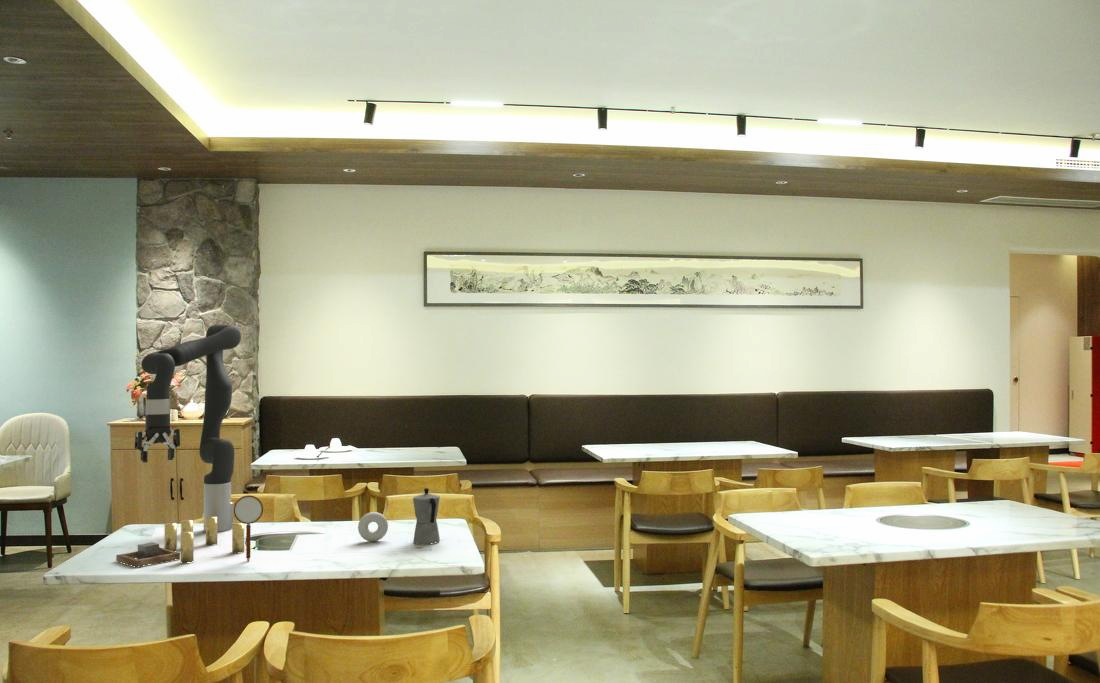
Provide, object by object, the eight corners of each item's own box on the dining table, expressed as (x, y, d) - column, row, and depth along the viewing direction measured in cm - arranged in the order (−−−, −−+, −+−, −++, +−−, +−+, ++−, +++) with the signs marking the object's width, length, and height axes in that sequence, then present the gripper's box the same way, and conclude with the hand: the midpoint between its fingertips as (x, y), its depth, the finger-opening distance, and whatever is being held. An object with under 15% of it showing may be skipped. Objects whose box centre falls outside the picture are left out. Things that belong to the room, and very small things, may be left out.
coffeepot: (407, 539, 279) (407, 486, 279) (434, 536, 283) (433, 484, 283) (420, 548, 265) (420, 492, 265) (448, 545, 269) (448, 490, 269)
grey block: (152, 558, 254) (152, 542, 254) (159, 560, 251) (159, 544, 252) (137, 561, 251) (137, 544, 251) (144, 563, 248) (144, 546, 248)
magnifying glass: (263, 559, 251) (263, 494, 251) (262, 561, 249) (262, 495, 250) (234, 561, 249) (234, 495, 250) (232, 562, 248) (233, 496, 248)
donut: (357, 543, 273) (357, 513, 273) (357, 541, 276) (357, 511, 277) (388, 541, 275) (388, 512, 276) (388, 539, 279) (387, 510, 279)
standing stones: (212, 542, 277) (212, 515, 277) (249, 551, 263) (249, 523, 263) (148, 554, 260) (148, 525, 260) (184, 564, 246) (184, 534, 246)
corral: (159, 553, 260) (159, 547, 260) (179, 559, 252) (180, 552, 252) (116, 561, 250) (116, 554, 250) (136, 567, 242) (136, 561, 242)
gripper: (173, 411, 282) (172, 458, 281) (131, 413, 270) (130, 462, 270) (184, 412, 277) (183, 459, 276) (141, 414, 266) (141, 464, 265)
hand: (157, 461), depth 273 cm, fingers open, 8 cm apart
